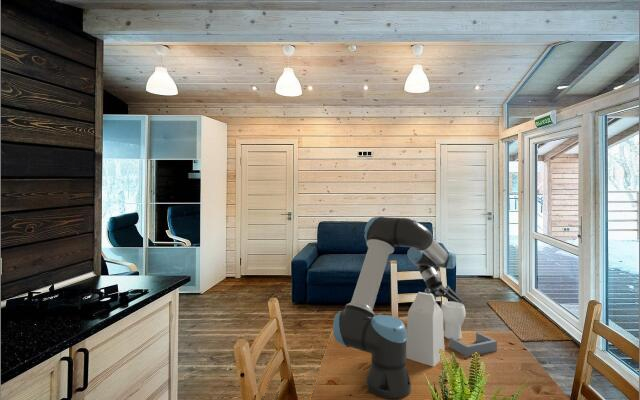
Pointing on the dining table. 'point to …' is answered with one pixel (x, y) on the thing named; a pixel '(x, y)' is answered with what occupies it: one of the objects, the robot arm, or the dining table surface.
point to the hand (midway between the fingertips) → (452, 318)
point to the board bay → (474, 345)
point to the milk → (424, 330)
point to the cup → (453, 319)
